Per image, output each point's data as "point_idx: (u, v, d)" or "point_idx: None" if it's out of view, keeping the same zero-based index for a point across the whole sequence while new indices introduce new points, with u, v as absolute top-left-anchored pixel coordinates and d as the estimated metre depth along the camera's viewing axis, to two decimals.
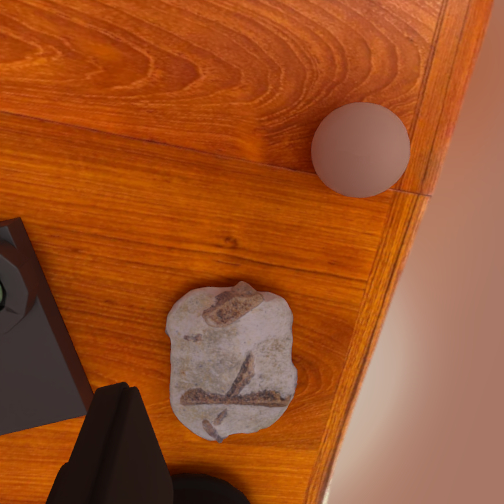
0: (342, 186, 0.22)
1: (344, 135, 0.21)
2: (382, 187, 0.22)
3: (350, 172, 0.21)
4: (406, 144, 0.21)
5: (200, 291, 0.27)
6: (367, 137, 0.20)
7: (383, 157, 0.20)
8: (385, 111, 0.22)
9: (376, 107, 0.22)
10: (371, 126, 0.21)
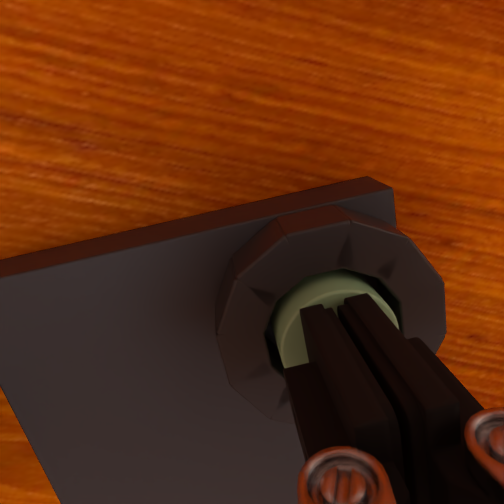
0: None
1: None
2: None
3: None
4: None
5: None
6: None
7: None
8: None
9: None
10: None
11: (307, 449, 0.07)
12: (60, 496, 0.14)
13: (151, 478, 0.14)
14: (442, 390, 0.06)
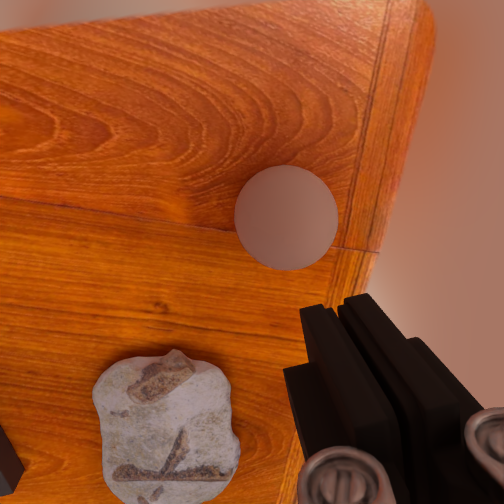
0: (263, 262, 0.20)
1: (258, 209, 0.19)
2: (305, 264, 0.19)
3: (266, 251, 0.19)
4: (328, 219, 0.19)
5: (126, 363, 0.25)
6: (281, 214, 0.18)
7: (299, 237, 0.18)
8: (306, 180, 0.19)
9: (296, 175, 0.19)
10: (286, 201, 0.18)
11: (307, 449, 0.07)
12: None
13: None
14: (442, 390, 0.06)
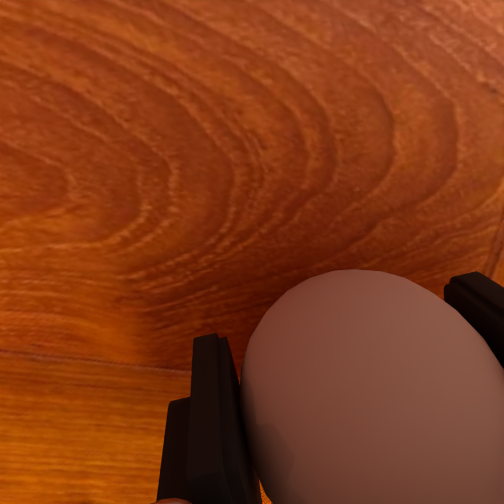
0: None
1: (316, 450, 0.06)
2: None
3: None
4: None
5: None
6: (400, 498, 0.05)
7: None
8: (453, 350, 0.07)
9: (423, 332, 0.07)
10: (417, 449, 0.06)
11: (158, 495, 0.07)
12: None
13: None
14: None
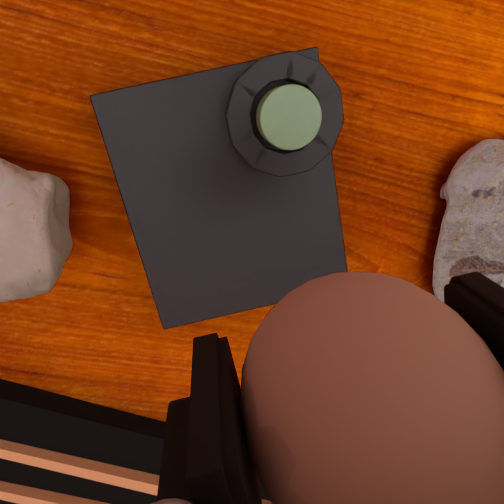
0: None
1: (318, 453, 0.06)
2: None
3: None
4: None
5: (495, 139, 0.25)
6: (402, 502, 0.05)
7: None
8: (454, 353, 0.07)
9: (424, 334, 0.07)
10: (418, 451, 0.06)
11: (158, 495, 0.07)
12: (135, 234, 0.24)
13: (187, 226, 0.24)
14: None
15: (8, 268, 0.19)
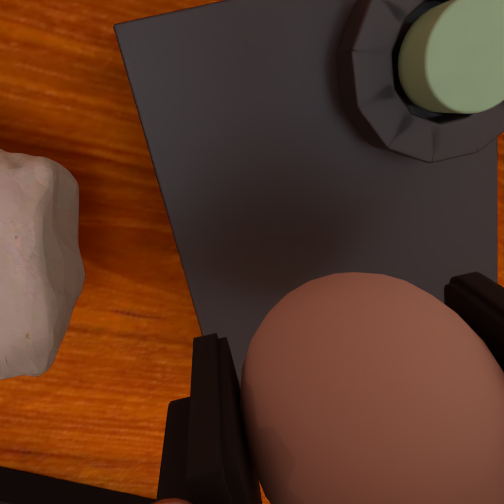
0: None
1: (318, 455, 0.06)
2: None
3: None
4: None
5: None
6: (401, 503, 0.05)
7: None
8: (454, 354, 0.07)
9: (423, 336, 0.07)
10: (417, 453, 0.06)
11: (158, 495, 0.07)
12: (183, 256, 0.15)
13: (264, 242, 0.15)
14: None
15: None
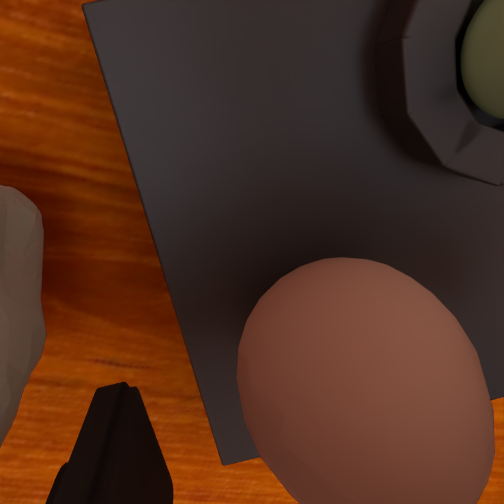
0: None
1: (304, 410, 0.07)
2: None
3: None
4: (491, 439, 0.07)
5: None
6: (374, 447, 0.06)
7: None
8: (424, 324, 0.07)
9: (398, 308, 0.08)
10: (388, 405, 0.06)
11: None
12: (176, 301, 0.12)
13: None
14: None
15: None
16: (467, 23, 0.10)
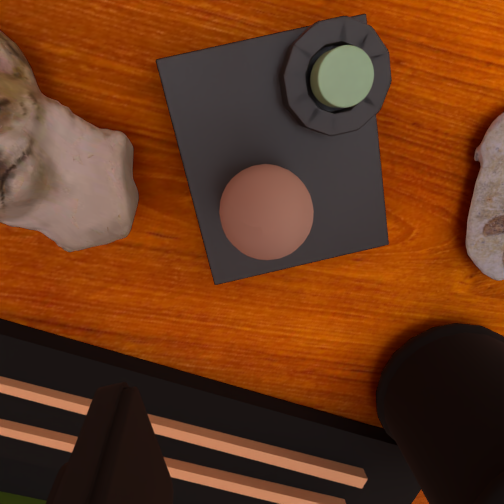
0: (244, 252, 0.22)
1: (239, 203, 0.21)
2: (281, 254, 0.21)
3: (246, 241, 0.21)
4: (302, 213, 0.21)
5: None
6: (259, 208, 0.20)
7: (275, 229, 0.20)
8: (283, 178, 0.21)
9: (275, 173, 0.21)
10: (265, 196, 0.20)
11: None
12: (192, 192, 0.26)
13: None
14: None
15: (89, 214, 0.21)
16: None
